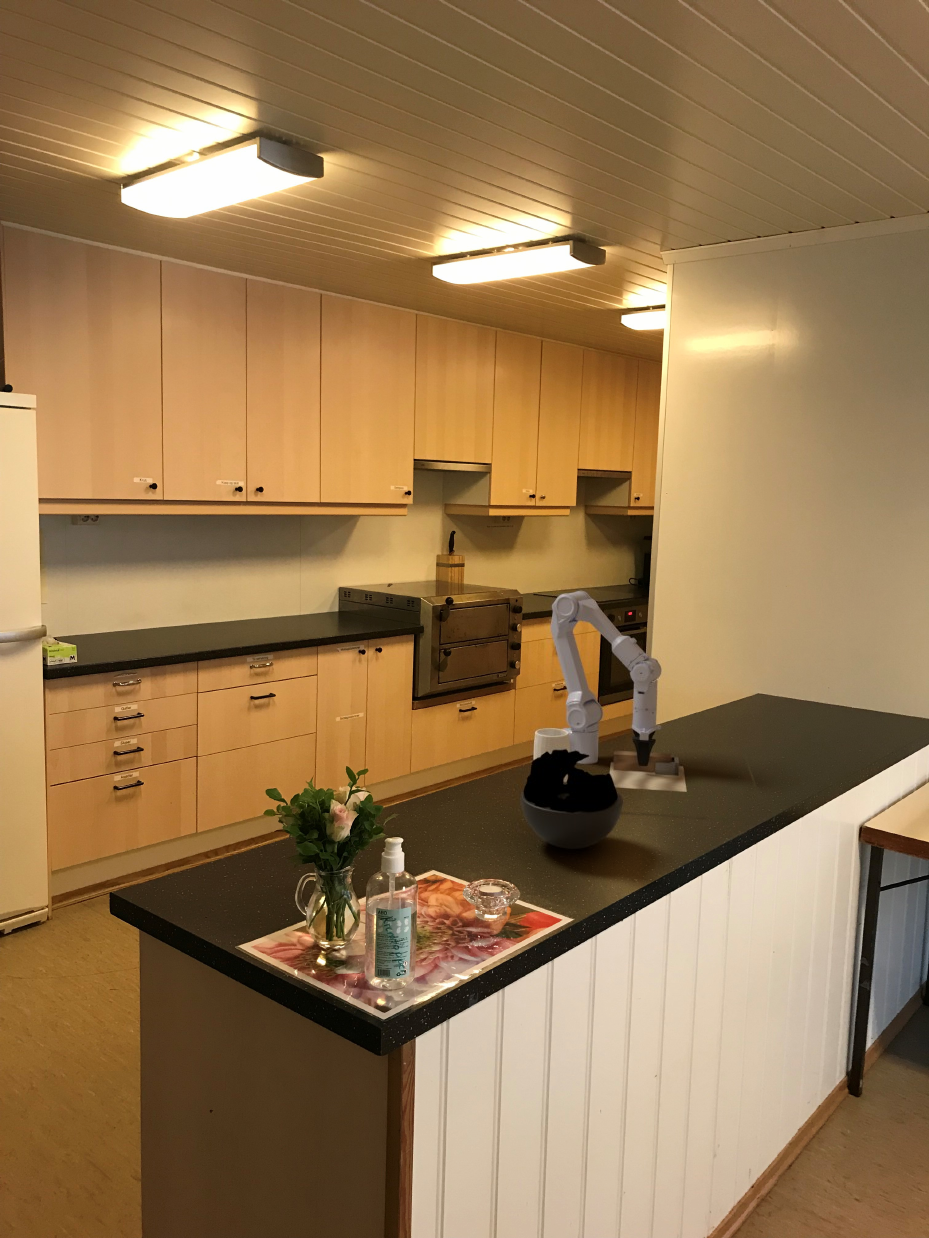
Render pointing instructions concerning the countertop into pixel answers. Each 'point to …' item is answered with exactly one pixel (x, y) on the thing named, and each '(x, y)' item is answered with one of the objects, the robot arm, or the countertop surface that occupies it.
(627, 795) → the countertop surface
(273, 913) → the countertop surface
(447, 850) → the countertop surface
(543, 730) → the cup
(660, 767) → the bracket
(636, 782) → the mounting board
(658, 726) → the robot arm
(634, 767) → the rail
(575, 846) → the bowl of black rocks
